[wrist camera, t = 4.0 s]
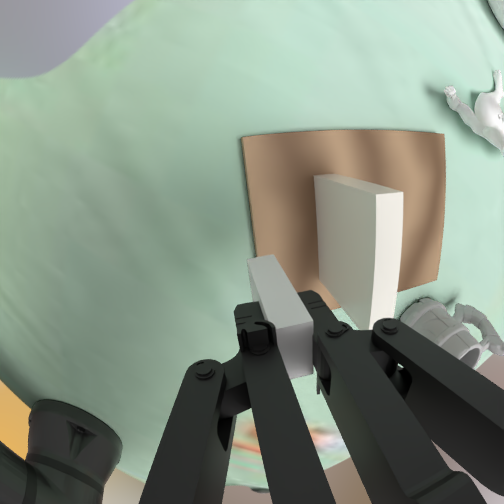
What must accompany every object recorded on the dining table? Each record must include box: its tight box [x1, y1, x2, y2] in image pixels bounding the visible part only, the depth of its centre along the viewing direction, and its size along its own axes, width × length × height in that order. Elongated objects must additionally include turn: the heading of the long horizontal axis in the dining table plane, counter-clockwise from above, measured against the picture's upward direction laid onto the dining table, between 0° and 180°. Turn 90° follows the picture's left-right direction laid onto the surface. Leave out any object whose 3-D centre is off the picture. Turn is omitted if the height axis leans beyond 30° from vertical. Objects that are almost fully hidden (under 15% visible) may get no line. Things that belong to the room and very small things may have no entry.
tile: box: [314, 174, 403, 330], centre depth 19 cm, size 2×9×9 cm, turn 7°
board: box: [241, 130, 446, 310], centre depth 24 cm, size 20×16×1 cm
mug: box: [400, 298, 504, 369], centre depth 25 cm, size 8×12×12 cm, turn 107°
